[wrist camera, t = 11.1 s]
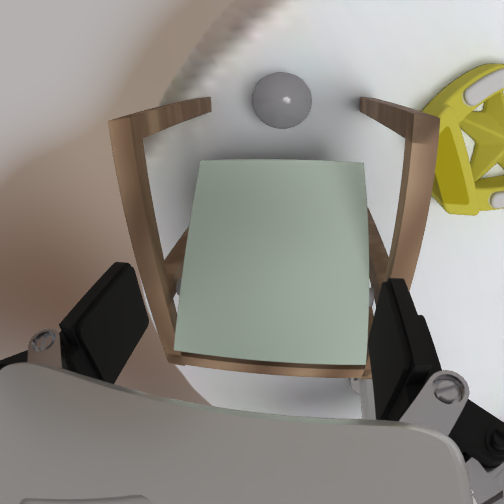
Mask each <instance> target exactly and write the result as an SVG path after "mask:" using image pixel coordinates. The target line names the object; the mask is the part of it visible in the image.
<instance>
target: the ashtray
mask: <svg viewBox="0 0 504 504" xmlns="http://www.w3.org/2000/svg"><path fill="white" fill-rule="evenodd" d="M503 90H504V64H485V65H481V66H479V67H476V68H474V69H472V70H470V71H468V72H467V73H465V74H463V75H462V76H460V77H459V78H457V79H456V80H454V81H453V82H452V83H450V84H449V85H448V86H446V87H445V88H444V89H443V90H442V91H441V92H440V93H438V94H437V95H436V96H435V97H434V98H433V99H432V100H431V101H430V102H429V103H428V104H427V106H426V107H425V108H424V109H423V110H422V111H421V112H424V113H427V114H430V115H433V116H436V117H439V118H440V129H439V140H438V150H437V159H436V167H435V174H434V181H433V187H432V194H431V195H432V196H433V198H434V199H435V200H436V201H437V202H438V203H439V204H440V205H441V206H442V207H443V209H444V210H445V211H446V212H447V213H449V214H458V215H474V216H475V215H477V214H478V213H479V211H486V210H495V209H501V208H504V175H501V176H495V177H489V178H481V177H482V176H483V175H484V174H485V173H486V172H488V171H489V170H490V169H491V168H492V167H493V166H494V165H495V164H496V163H498V164H499V165H500V166H501V167H502V168H503V169H504V94H503ZM484 101H485V102H484ZM483 102H484V107H483V110H482V111H481V112H477V111H473V110H474V109H475V108H476V107H478V106H479V105H480V104H482V103H483ZM460 128H461V129H462V130H463V131H464V132H465V133H467V134H468V135H469V136H470V137H471V138H472V139H473V140H474V141H475V147H474V151H473V155H472V159H471V162H470V161H469V158H468V154H467V150H466V146H465V143H464V139H463V136H462V133H461V129H460Z"/></svg>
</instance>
